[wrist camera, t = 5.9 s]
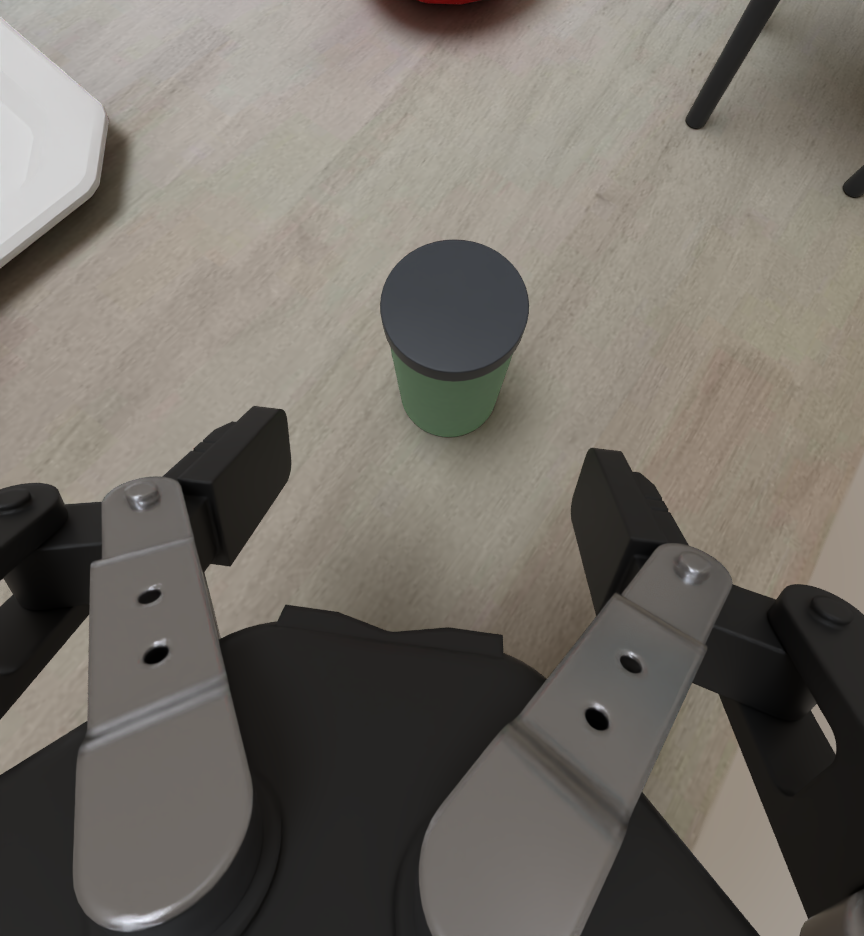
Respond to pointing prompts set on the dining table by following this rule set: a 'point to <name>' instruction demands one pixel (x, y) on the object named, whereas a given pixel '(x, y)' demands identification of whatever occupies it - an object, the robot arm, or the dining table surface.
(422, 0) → the tomato
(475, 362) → the plastic tub
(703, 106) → the tray
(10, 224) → the plate
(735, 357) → the dining table surface
